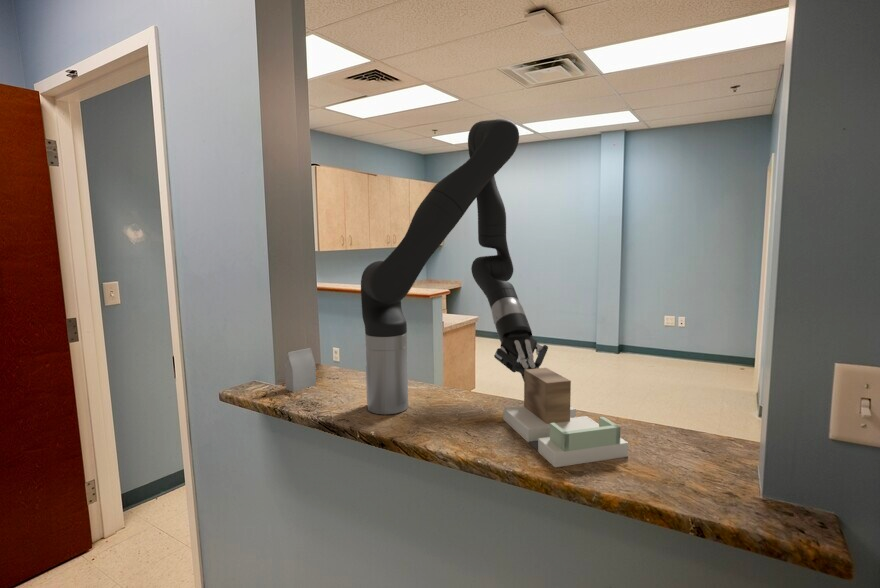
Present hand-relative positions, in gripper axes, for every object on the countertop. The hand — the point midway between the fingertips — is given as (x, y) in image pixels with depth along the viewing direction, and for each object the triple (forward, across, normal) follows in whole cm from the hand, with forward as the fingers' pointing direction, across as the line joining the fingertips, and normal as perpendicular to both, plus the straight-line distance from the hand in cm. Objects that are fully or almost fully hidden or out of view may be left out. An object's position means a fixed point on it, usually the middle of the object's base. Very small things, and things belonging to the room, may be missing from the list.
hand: (533, 386), depth 99 cm
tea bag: (-20, -49, +30) cm, 61 cm away
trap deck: (+12, 0, -4) cm, 13 cm away
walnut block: (+7, 0, -1) cm, 7 cm away
